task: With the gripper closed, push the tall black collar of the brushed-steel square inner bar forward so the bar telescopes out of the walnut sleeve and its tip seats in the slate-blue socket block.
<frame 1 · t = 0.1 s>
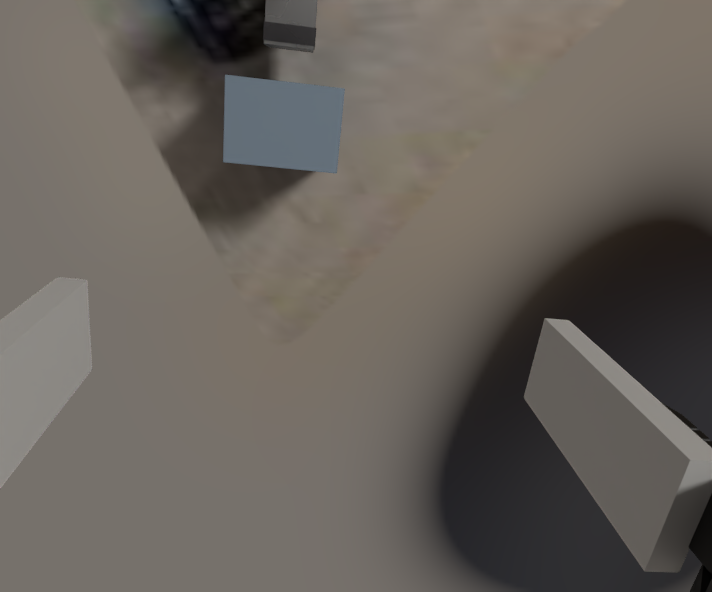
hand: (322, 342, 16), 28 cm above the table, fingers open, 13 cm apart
socket: (287, 119, 40), on the table
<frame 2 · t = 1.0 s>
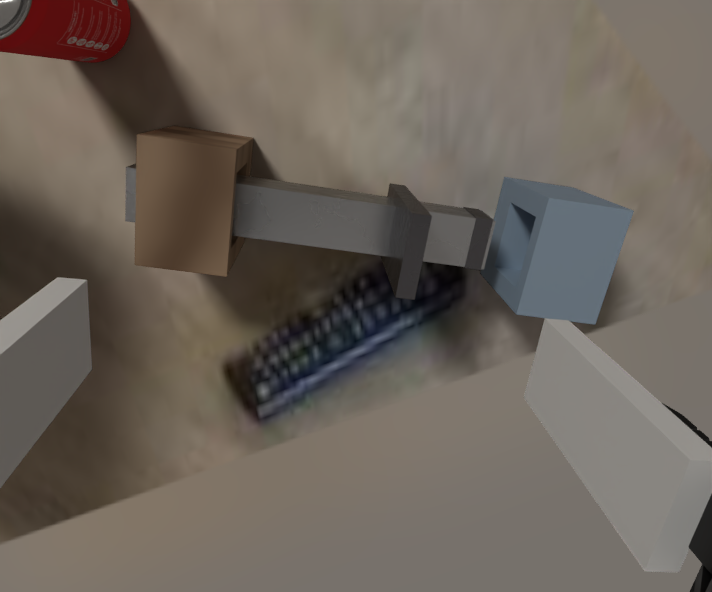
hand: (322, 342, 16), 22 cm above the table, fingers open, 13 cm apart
socket: (525, 231, 38), on the table
tube: (314, 223, 30), point 7 cm above the table, slide at 0.0 cm
sleeve: (210, 186, 36), on the table
beverage can: (93, 16, 32), on the table
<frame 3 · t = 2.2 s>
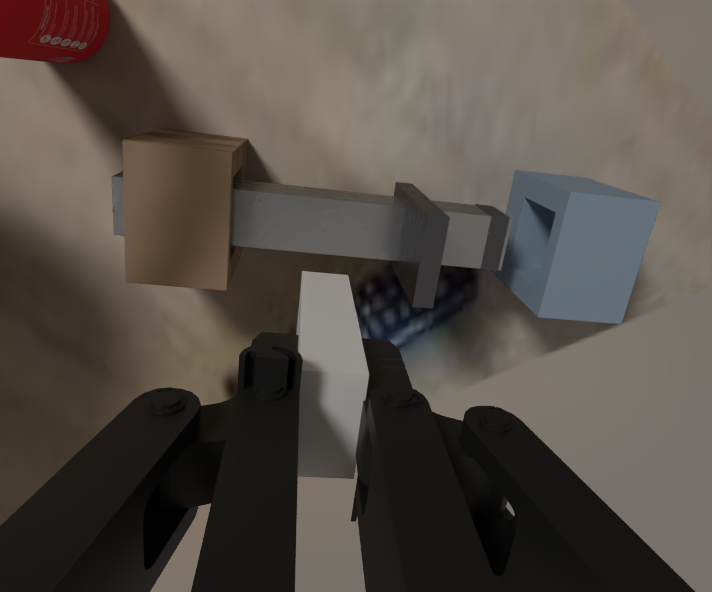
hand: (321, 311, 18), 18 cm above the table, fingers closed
socket: (539, 227, 36), on the table
tube: (319, 228, 28), point 6 cm above the table, slide at 0.0 cm
sleeve: (203, 192, 33), on the table
beverage can: (67, 12, 29), on the table
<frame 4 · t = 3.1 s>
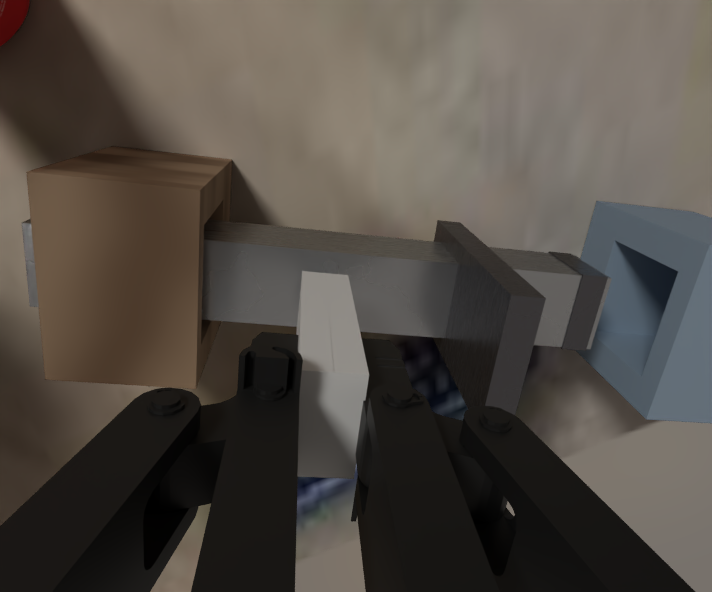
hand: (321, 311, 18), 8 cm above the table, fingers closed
socket: (623, 275, 27), on the table
tube: (332, 296, 19), point 6 cm above the table, slide at 0.0 cm
sleeve: (172, 232, 24), on the table
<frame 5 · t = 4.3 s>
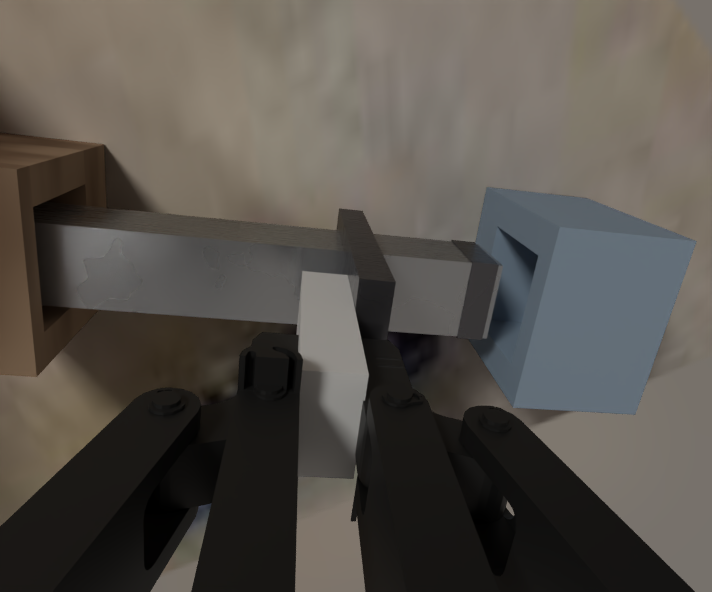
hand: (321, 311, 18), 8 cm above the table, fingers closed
socket: (520, 263, 27), on the table
tube: (211, 284, 19), point 7 cm above the table, slide at 1.1 cm, touching gripper
sleeve: (48, 219, 24), on the table
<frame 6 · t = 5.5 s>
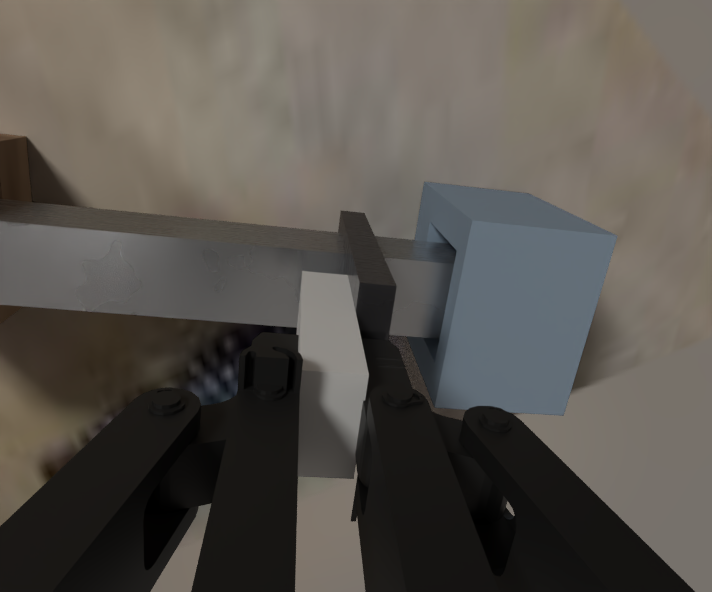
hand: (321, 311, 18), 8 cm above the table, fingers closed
socket: (462, 260, 26), on the table
tube: (211, 287, 19), point 6 cm above the table, slide at 4.2 cm, touching gripper
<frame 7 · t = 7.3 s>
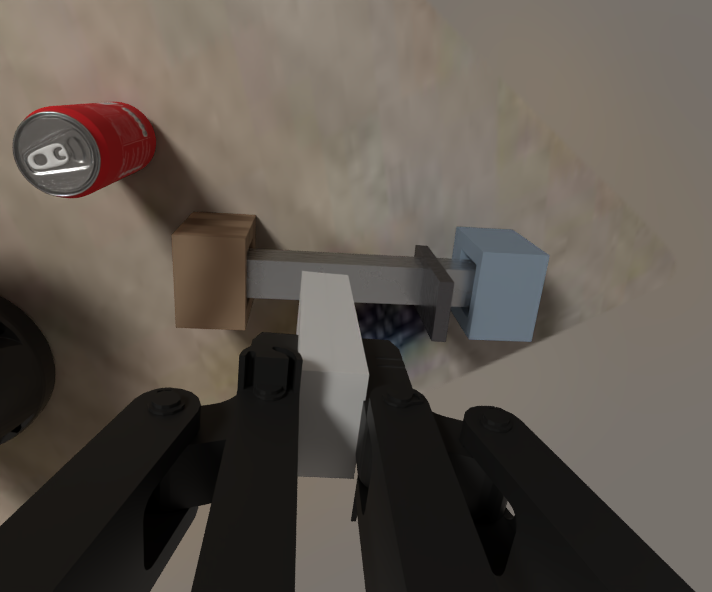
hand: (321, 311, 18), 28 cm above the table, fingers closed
socket: (478, 266, 48), on the table
tube: (364, 286, 40), point 6 cm above the table, slide at 4.2 cm
sleeve: (225, 254, 45), on the table
beverage can: (126, 136, 42), on the table
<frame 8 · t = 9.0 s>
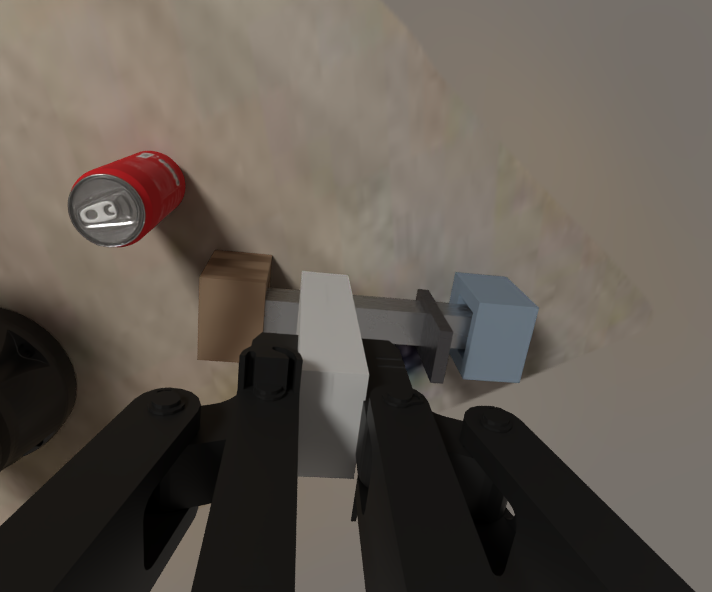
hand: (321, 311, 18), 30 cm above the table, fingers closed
socket: (473, 308, 52), on the table
tube: (370, 328, 44), point 7 cm above the table, slide at 4.2 cm
sleeve: (242, 289, 49), on the table
beverage can: (157, 180, 45), on the table
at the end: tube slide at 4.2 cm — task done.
